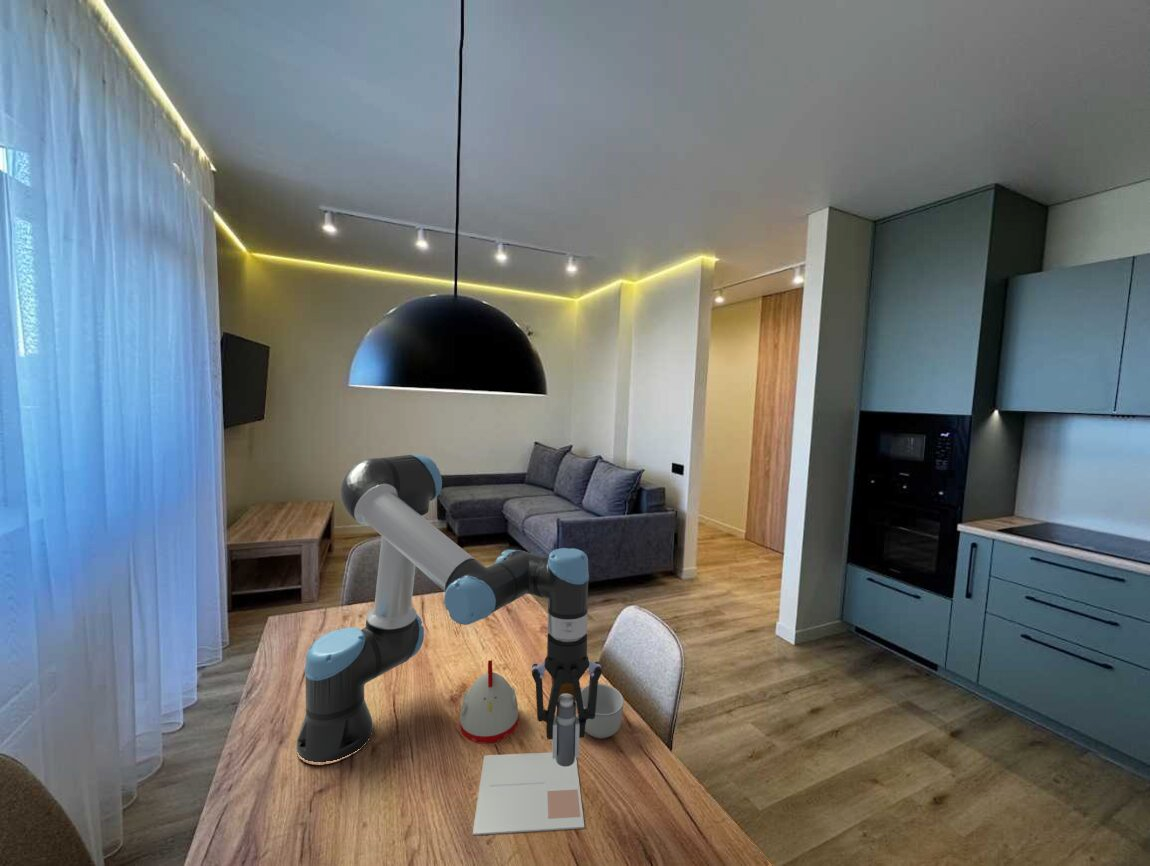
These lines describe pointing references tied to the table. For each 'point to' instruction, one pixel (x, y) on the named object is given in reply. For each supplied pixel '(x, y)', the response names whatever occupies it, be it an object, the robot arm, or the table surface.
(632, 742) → the table surface
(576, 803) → the paper
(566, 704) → the marker
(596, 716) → the teacup
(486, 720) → the kitchen timer
